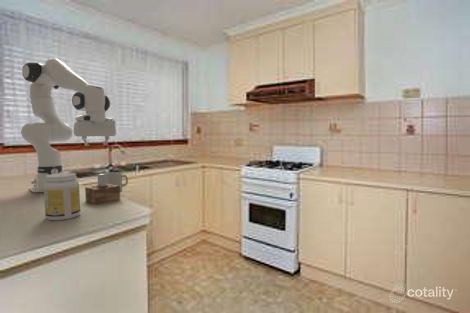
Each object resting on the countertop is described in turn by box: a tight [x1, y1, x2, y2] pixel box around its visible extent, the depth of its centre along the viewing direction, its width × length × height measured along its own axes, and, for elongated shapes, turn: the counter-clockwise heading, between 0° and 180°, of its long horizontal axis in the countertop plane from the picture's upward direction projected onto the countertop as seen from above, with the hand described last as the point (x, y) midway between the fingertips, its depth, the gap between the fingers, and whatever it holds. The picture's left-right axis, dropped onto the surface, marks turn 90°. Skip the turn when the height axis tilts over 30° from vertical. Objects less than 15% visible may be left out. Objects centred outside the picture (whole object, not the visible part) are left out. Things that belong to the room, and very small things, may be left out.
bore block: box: [84, 184, 121, 205], centre depth 142 cm, size 10×12×7 cm
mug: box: [104, 171, 129, 193], centre depth 163 cm, size 12×8×11 cm
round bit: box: [97, 173, 107, 188], centre depth 142 cm, size 4×4×11 cm
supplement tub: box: [43, 172, 81, 221], centre depth 115 cm, size 12×12×17 cm
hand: (96, 145), depth 146 cm, fingers open, 8 cm apart
